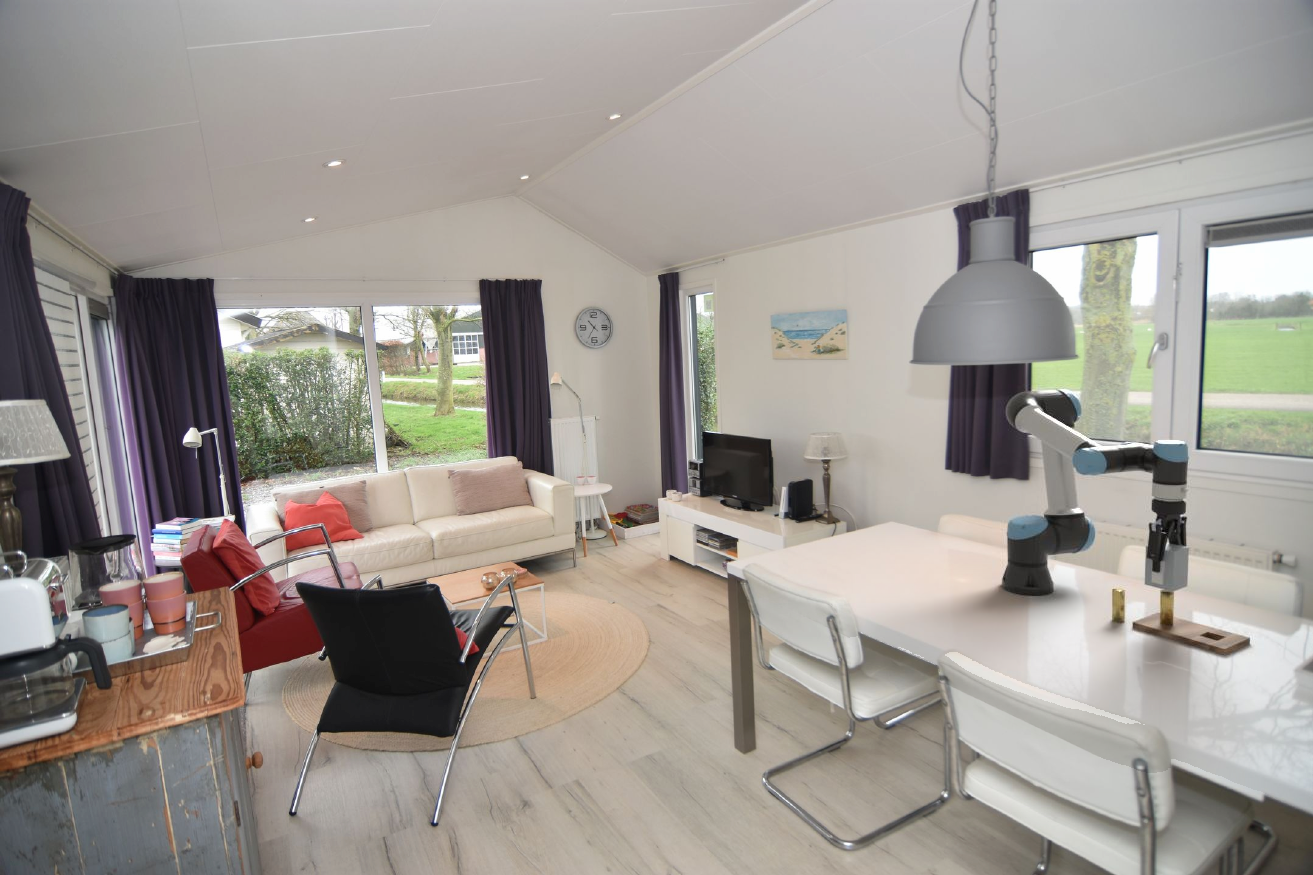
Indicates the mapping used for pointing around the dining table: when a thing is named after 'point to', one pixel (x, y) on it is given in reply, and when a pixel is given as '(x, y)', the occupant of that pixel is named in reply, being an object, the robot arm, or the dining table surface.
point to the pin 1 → (1118, 605)
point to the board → (1193, 634)
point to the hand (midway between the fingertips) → (1165, 579)
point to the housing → (1170, 568)
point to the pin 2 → (1166, 607)
